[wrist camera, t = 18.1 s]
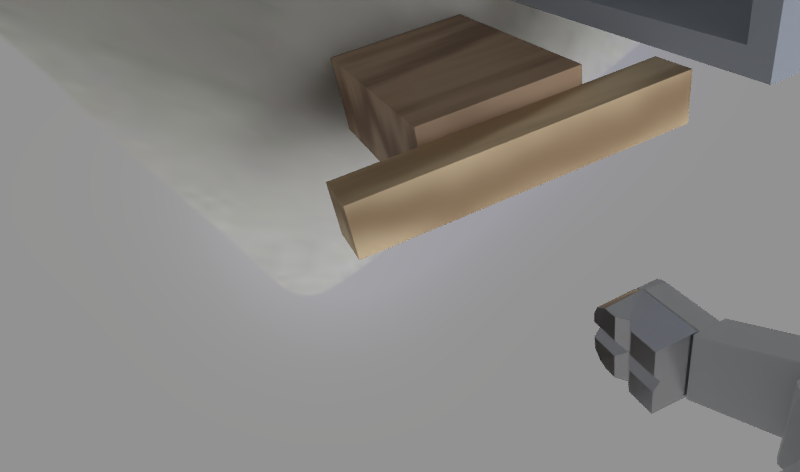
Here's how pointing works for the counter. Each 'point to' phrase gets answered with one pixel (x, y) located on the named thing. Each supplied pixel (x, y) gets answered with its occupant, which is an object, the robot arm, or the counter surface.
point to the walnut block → (443, 82)
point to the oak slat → (508, 154)
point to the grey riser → (701, 30)
